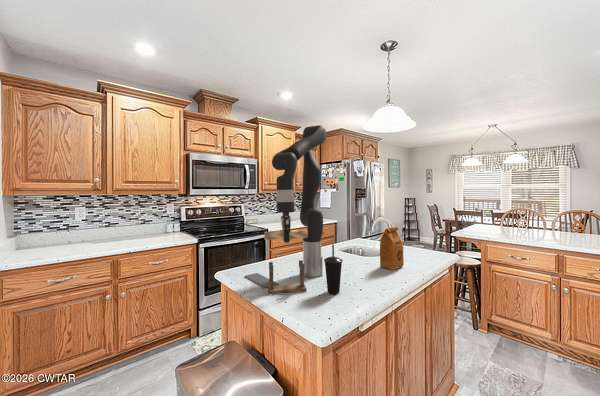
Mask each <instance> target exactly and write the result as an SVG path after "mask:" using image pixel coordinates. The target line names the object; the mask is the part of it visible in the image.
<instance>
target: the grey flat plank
mask: <svg viewBox="0 0 600 396" xmlns="http://www.w3.org/2000/svg"><path fill="white" fill-rule="evenodd" d="M244 276H245V277H244V278H246V279H247V278H248V279H247V280H249V279H250V280H249V281H251V280H252V281H251V282H253V281H254V282H253V283H255V284H256V283H257V285H258V284H259V285H258V286H260V285H261V286H260V287H262V288H264V289H268V287H269V277H266V276H265V275H262V274H260V273H258V272H255V273H251V274H247V275H244ZM273 286H280V285H279V283H278V282H276V281H274V280H273Z"/></svg>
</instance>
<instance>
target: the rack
mask: <svg viewBox="0 0 600 396" xmlns="http://www.w3.org/2000/svg"><path fill="white" fill-rule="evenodd" d="M298 268H299V284H289V285H288V284H287V285H275V286H273V281H274V263H273V261H268V275H269V277H268V279H269V287H268V288H267V295H268V296H270V294H272V295H284V294H296V293H297V294H298V293H307V287H306V284H305V275H304V271H305V264H304V263H303V259H302V260H300V259H299V260H298Z"/></svg>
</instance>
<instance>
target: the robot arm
mask: <svg viewBox="0 0 600 396" xmlns="http://www.w3.org/2000/svg"><path fill="white" fill-rule="evenodd" d="M326 139H327V130H326V127H324V126H323V125H321V124H320V125H318V124H317V125H311V126H305V128H304V129H303V132H302V138H300V140H297V141H294V143H293V144H291V145H290V146H289V147H287V148H285V149H283V150H281V151H280V150H279V152H276V153H275V154H274V155H273V157H272V159H271V165H272V167H273V168H274V169H275V170H276V171H283V174H281V175H279V176H277V177H276V196H275V199H276V200H275V201H276V202H275V203H276V212H277V213H278V214H279V213H280V214H282V216H280V221H281V223H280V224H281V225H280V226H281V231H284V232H283V233H284V239H282V240H283V242H284V243H285V244H288V243H290V239H289V233H290V230H291V227H292V226H291V222H292V216H290V213H294V212H295V192H294V179H295V178H294V177H295V174H296V169H297V167H298V166H297V165H298V161H299V160H300V159H301V158H302V157H303V163H302V165H303V166H302V167H303V168H302V169H303V170H302V190H301V191H302V193H301V205H300V213H299V221H300V223H301V225H303V227H307V229H306V230H307V231H308V238H302V254H303V255H302V256H303V257H302V260H303V263H304V264H305V271H304V277H306V278H307V277H308V278H317V277H320V276H323V275H324V274H323V272H324V271H323V264H324V263H323V255H322V238H323V234H324V233H323V232H324V231H323V230H324V215H323V213H322V211H320V210H319V209H316V208H315V206H314V205H315V199H316V195H317V193H318V191H319V189H320V186H321V181H322V180H321V179H322V169H321V167H320V165H319V163H318V162H317V160H316V158H315V155H314V151H313V149H314V148H316V147H318V146H320V145H321V144H323V143H325V141H326Z"/></svg>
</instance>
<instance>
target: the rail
mask: <svg viewBox="0 0 600 396" xmlns="http://www.w3.org/2000/svg"><path fill="white" fill-rule="evenodd" d="M307 230H308V229H293V230H292V229H290V233H289V240H293V239H295V240H296V239H303V238H308V231H307ZM283 232H284V231H282V230H273V231H264V241H269V240H270V241H271V240H272V241H273V240H283V239H284V233H283Z"/></svg>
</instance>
